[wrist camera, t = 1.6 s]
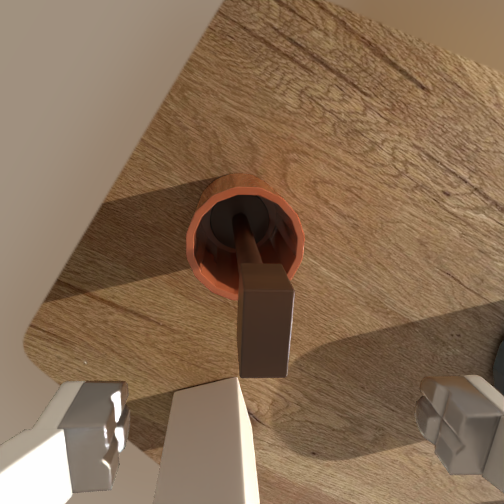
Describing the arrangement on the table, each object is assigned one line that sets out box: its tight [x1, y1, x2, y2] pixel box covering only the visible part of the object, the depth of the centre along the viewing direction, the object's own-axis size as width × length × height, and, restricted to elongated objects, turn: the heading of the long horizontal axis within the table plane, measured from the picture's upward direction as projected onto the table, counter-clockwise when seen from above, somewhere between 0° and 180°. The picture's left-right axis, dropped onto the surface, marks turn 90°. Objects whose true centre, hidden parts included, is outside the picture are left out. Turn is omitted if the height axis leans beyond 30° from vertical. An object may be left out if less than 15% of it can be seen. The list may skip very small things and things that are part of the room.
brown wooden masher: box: [210, 195, 295, 378], centre depth 22 cm, size 5×5×20 cm
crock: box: [186, 173, 305, 300], centre depth 28 cm, size 8×8×10 cm
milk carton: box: [153, 377, 260, 504], centre depth 30 cm, size 7×7×19 cm
